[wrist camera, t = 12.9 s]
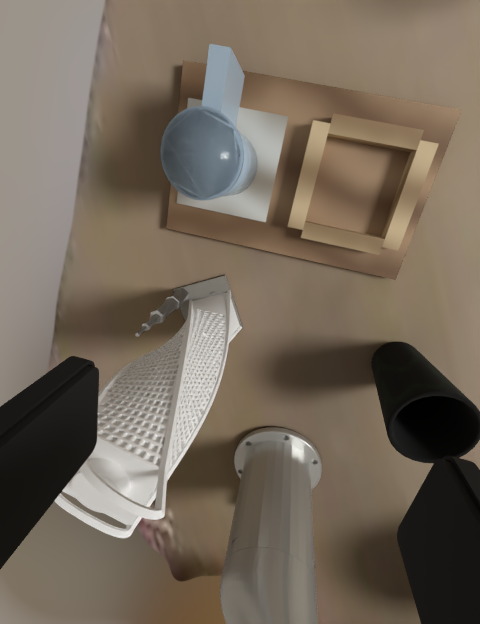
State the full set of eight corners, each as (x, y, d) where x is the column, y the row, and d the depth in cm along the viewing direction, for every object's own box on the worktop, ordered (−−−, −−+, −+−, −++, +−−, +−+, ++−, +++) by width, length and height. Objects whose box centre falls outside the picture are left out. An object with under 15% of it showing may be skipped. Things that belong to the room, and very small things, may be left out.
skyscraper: (236, 271, 38) (112, 436, 13) (255, 332, 41) (184, 576, 15) (174, 288, 41) (-43, 460, 15) (195, 345, 43) (42, 579, 17)
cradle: (390, 255, 34) (395, 258, 32) (286, 232, 35) (285, 234, 33) (434, 136, 30) (442, 133, 28) (314, 114, 31) (315, 110, 29)
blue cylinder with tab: (251, 202, 34) (233, 208, 25) (195, 190, 34) (156, 190, 25) (274, 90, 30) (263, 47, 21) (210, 78, 31) (171, 31, 21)
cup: (353, 346, 39) (375, 407, 28) (418, 324, 37) (471, 381, 26) (374, 396, 41) (402, 472, 30) (437, 378, 39) (493, 453, 28)
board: (392, 277, 36) (396, 280, 34) (170, 227, 38) (165, 228, 36) (455, 112, 30) (463, 108, 28) (187, 64, 32) (182, 59, 30)
